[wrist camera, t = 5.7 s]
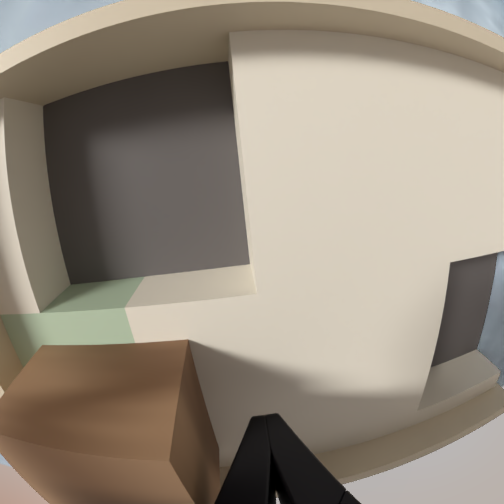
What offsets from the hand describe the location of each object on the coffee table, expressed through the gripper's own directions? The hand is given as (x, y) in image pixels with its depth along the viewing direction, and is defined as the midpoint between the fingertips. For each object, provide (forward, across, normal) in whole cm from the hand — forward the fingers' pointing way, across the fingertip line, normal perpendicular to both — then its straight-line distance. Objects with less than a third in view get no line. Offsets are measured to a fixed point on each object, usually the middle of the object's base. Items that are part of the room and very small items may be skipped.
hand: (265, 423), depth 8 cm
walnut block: (+1, +4, 0) cm, 4 cm away
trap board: (+4, -2, -3) cm, 5 cm away
